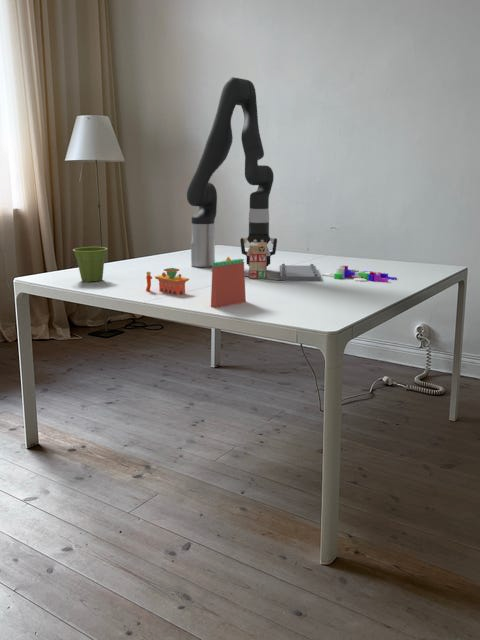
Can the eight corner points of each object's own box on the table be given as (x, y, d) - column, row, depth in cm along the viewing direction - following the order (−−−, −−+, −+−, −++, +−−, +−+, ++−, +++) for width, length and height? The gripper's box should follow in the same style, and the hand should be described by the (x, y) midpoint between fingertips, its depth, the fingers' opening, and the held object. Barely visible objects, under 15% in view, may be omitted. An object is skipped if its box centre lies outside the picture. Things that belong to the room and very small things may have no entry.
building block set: (404, 278, 233) (405, 266, 232) (380, 285, 218) (381, 273, 217) (344, 271, 248) (344, 260, 247) (317, 278, 232) (318, 266, 231)
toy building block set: (215, 308, 180) (215, 259, 177) (141, 292, 204) (139, 248, 201) (245, 302, 189) (245, 255, 185) (171, 286, 213) (170, 245, 209)
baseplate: (280, 280, 224) (280, 273, 224) (279, 269, 250) (279, 263, 249) (320, 280, 224) (320, 274, 223) (314, 269, 249) (315, 263, 248)
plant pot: (80, 277, 230) (78, 246, 227) (112, 277, 229) (111, 246, 226) (70, 283, 218) (68, 250, 215) (103, 283, 217) (102, 251, 215)
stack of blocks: (250, 269, 248) (251, 238, 246) (266, 269, 248) (267, 238, 245) (248, 278, 228) (249, 244, 225) (266, 279, 227) (266, 244, 224)
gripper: (239, 221, 229) (238, 267, 233) (278, 221, 229) (277, 267, 233) (240, 219, 237) (239, 264, 241) (278, 220, 236) (277, 264, 240)
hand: (258, 265), depth 237 cm, fingers closed on stack of blocks, 6 cm apart
